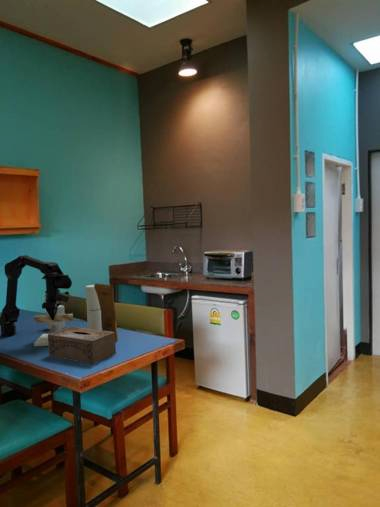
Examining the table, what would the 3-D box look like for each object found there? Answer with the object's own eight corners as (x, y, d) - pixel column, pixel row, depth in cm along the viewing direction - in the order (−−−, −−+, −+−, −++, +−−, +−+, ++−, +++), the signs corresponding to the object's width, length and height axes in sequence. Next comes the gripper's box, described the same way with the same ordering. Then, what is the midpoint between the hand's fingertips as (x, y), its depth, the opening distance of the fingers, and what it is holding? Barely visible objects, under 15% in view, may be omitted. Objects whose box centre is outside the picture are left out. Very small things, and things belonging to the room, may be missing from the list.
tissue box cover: (49, 356, 177) (47, 334, 176) (72, 347, 189) (71, 326, 189) (93, 364, 165) (92, 340, 164) (115, 354, 177) (114, 332, 177)
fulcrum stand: (34, 346, 191) (33, 330, 191) (43, 336, 207) (42, 322, 207) (68, 344, 193) (67, 329, 193) (74, 335, 209) (73, 321, 208)
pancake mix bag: (109, 344, 191) (106, 286, 189) (95, 335, 207) (92, 282, 205) (122, 341, 195) (119, 285, 193) (107, 333, 211) (105, 280, 209)
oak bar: (73, 319, 202) (72, 313, 202) (71, 320, 199) (71, 314, 199) (36, 321, 200) (36, 315, 200) (34, 322, 197) (34, 316, 197)
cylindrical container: (98, 334, 210) (95, 287, 208) (85, 333, 211) (83, 287, 209) (103, 330, 217) (101, 285, 215) (91, 330, 218) (89, 284, 216)
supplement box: (54, 330, 219) (53, 308, 218) (46, 328, 224) (45, 306, 223) (65, 327, 225) (64, 305, 224) (58, 325, 230) (56, 304, 229)
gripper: (64, 290, 190) (66, 322, 191) (72, 284, 208) (73, 313, 209) (40, 291, 189) (42, 323, 190) (50, 285, 207) (52, 315, 208)
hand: (53, 318), depth 199 cm, fingers closed on oak bar, 3 cm apart
